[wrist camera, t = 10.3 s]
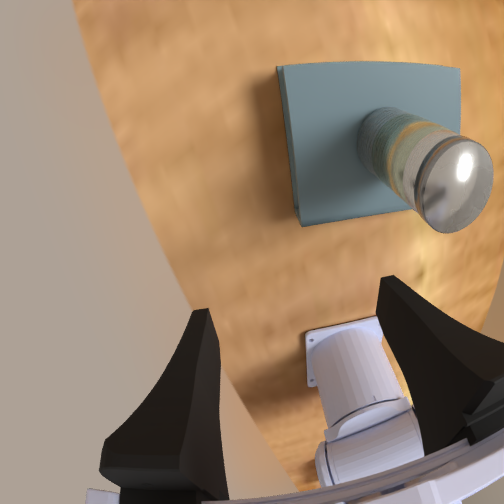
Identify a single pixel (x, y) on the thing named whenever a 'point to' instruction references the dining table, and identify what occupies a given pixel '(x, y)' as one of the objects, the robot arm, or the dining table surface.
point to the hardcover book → (353, 129)
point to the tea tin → (427, 167)
